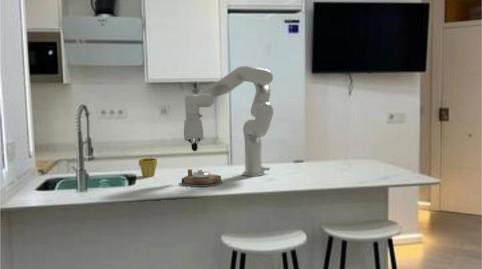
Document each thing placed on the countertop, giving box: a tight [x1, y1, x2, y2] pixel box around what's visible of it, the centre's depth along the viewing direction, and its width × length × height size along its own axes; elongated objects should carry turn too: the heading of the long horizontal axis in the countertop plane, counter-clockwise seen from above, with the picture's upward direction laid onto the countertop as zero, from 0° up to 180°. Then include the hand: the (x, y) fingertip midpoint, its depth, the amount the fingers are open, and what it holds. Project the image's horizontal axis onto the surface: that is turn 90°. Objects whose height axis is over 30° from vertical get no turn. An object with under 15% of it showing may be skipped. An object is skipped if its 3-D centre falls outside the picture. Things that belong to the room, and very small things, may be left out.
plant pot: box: [138, 157, 158, 178], centre depth 283 cm, size 10×10×10 cm
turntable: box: [182, 168, 222, 185], centre depth 261 cm, size 20×20×5 cm
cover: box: [192, 169, 211, 179], centre depth 260 cm, size 9×9×4 cm
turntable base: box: [181, 177, 224, 188], centre depth 261 cm, size 22×22×3 cm
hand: (194, 150), depth 267 cm, fingers closed
